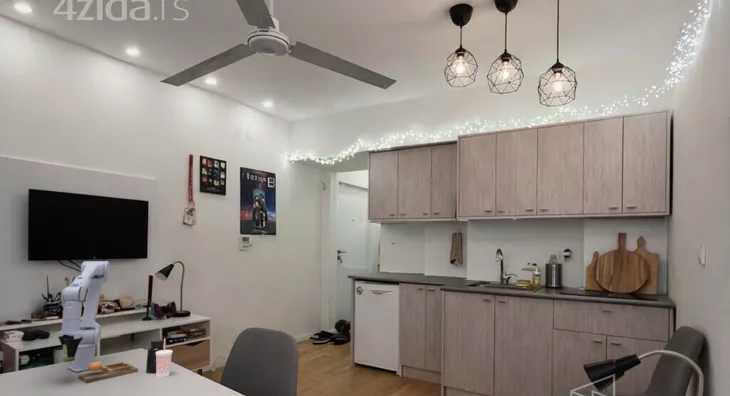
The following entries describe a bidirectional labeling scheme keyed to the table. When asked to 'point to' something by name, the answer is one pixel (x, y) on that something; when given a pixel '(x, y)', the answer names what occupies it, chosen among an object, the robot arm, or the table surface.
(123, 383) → the table surface
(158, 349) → the supplement bottle
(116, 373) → the board
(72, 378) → the table surface
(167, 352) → the beverage cup
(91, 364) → the button
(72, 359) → the cell
